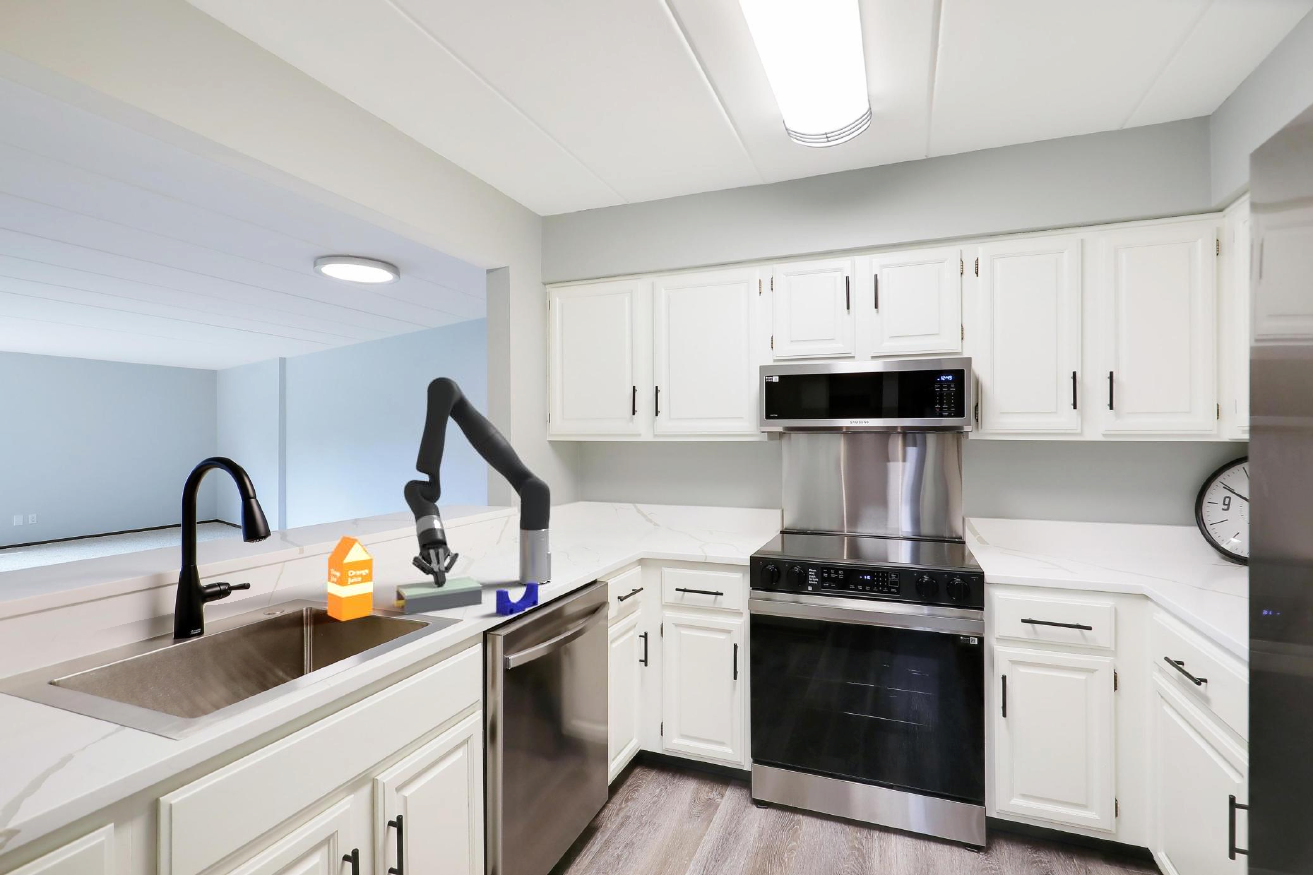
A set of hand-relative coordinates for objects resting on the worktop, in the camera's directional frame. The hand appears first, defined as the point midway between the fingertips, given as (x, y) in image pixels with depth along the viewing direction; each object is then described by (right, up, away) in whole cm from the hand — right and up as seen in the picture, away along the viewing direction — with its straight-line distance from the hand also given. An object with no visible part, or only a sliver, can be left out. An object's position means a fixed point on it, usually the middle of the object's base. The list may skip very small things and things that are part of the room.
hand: (441, 584), depth 164 cm
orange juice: (-21, -6, -9) cm, 23 cm away
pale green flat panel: (-1, -2, +2) cm, 2 cm away
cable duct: (-1, -6, +2) cm, 6 cm away
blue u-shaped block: (+22, -6, -3) cm, 23 cm away
